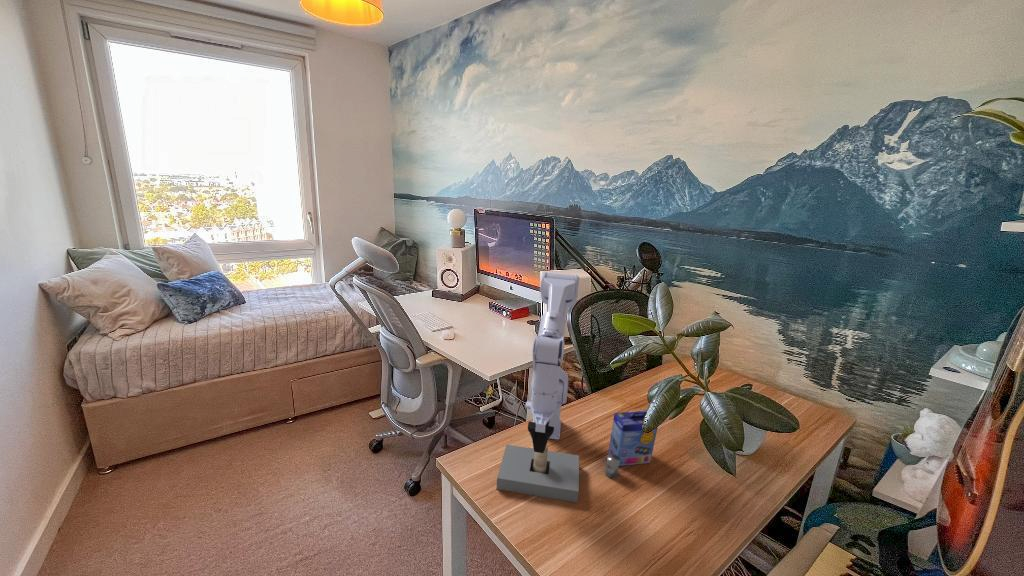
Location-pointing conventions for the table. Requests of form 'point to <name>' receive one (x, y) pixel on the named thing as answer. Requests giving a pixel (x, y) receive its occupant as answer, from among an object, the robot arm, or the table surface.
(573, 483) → the hole plate
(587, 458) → the table surface
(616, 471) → the short steel pin
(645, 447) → the ink cartridge box
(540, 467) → the birch pin
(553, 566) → the table surface
